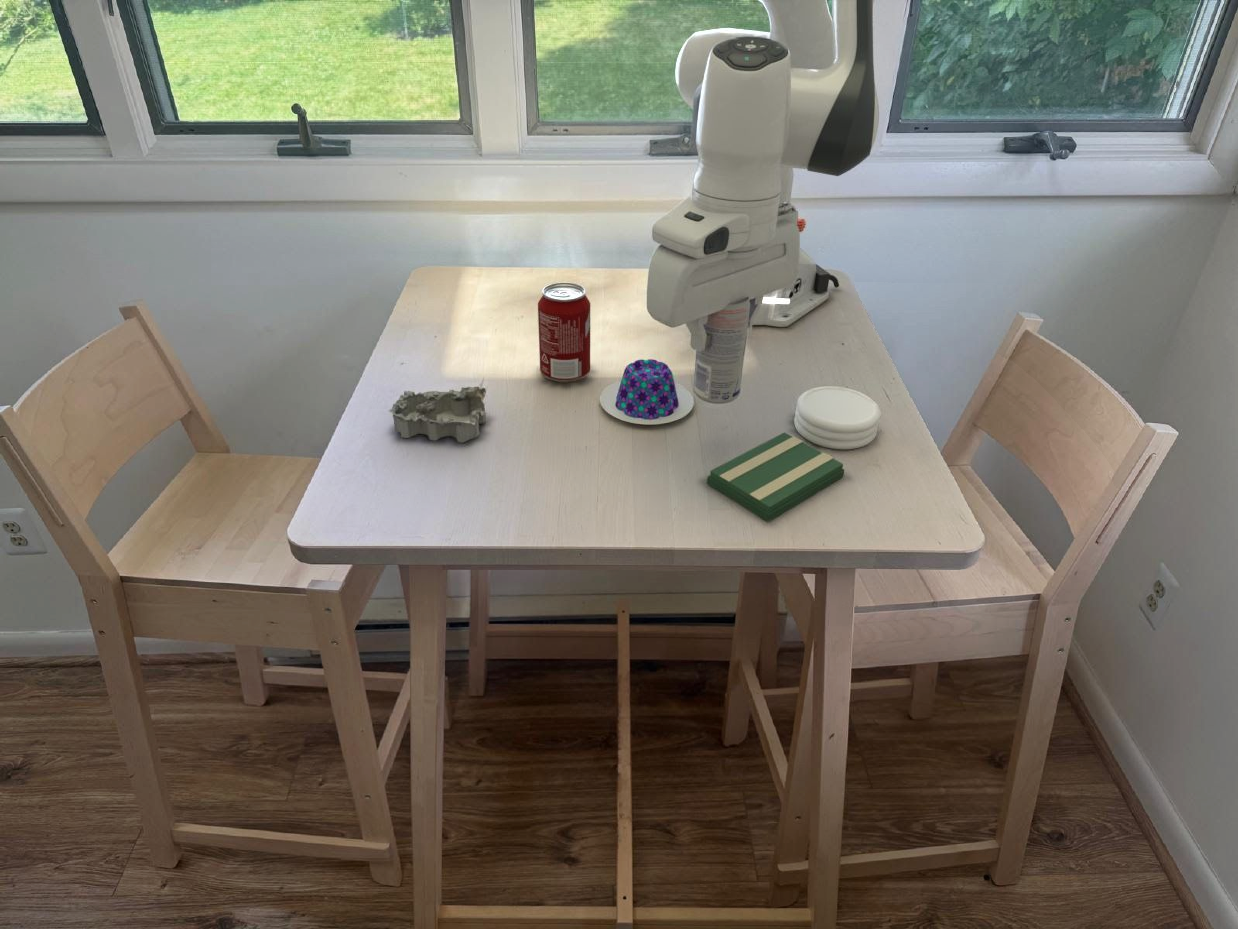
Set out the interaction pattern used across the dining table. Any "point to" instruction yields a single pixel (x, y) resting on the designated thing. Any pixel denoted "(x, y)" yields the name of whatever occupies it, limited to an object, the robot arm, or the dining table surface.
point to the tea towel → (775, 476)
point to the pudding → (647, 395)
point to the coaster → (837, 417)
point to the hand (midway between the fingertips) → (721, 340)
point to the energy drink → (723, 355)
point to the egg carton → (440, 413)
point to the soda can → (564, 332)
